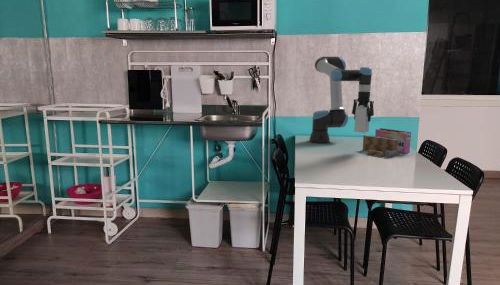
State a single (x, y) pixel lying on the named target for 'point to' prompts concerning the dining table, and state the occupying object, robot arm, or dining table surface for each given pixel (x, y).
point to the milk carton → (361, 119)
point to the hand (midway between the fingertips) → (361, 125)
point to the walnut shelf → (378, 145)
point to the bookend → (390, 153)
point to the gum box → (396, 138)
